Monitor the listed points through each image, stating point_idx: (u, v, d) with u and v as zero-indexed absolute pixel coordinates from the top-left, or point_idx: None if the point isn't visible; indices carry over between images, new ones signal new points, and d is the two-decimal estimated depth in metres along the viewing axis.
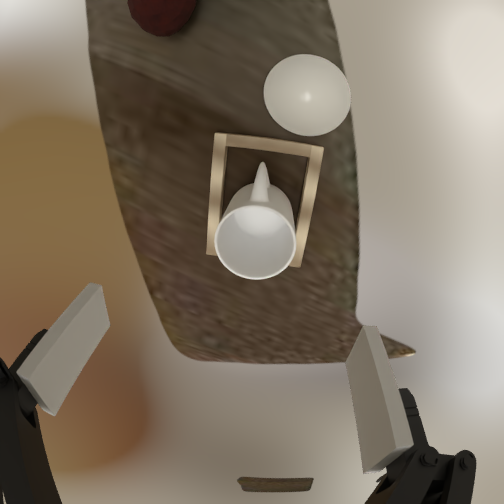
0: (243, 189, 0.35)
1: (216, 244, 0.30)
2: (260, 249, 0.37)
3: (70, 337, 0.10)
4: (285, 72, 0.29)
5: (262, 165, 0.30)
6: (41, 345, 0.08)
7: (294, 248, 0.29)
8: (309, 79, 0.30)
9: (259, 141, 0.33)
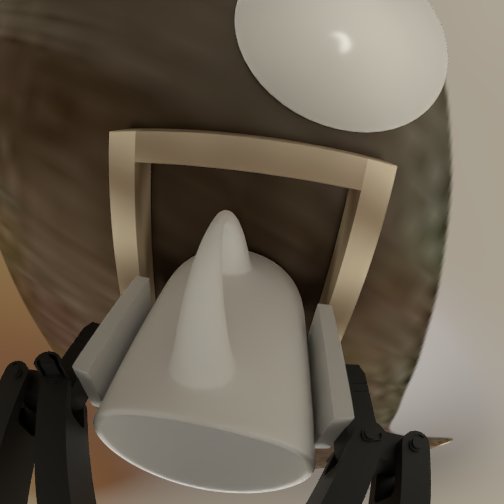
0: (182, 275, 0.14)
1: (108, 444, 0.09)
2: None
3: (123, 329, 0.11)
4: None
5: (214, 237, 0.08)
6: (96, 338, 0.10)
7: (307, 475, 0.08)
8: None
9: (220, 145, 0.12)
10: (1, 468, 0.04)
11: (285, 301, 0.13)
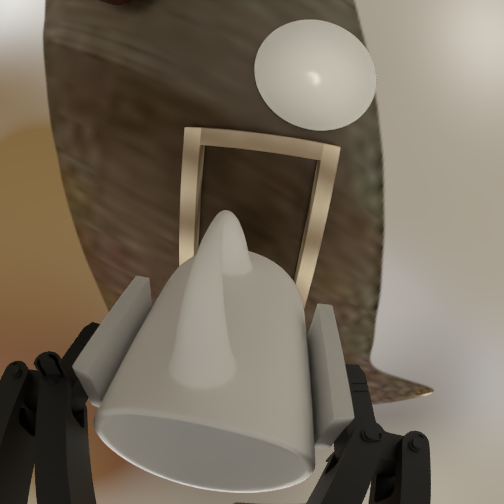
0: (182, 275, 0.14)
1: (108, 443, 0.09)
2: None
3: (123, 329, 0.11)
4: (284, 42, 0.19)
5: (214, 236, 0.08)
6: (96, 338, 0.10)
7: (307, 475, 0.08)
8: (318, 52, 0.20)
9: (248, 137, 0.23)
10: (1, 468, 0.04)
11: (285, 301, 0.13)
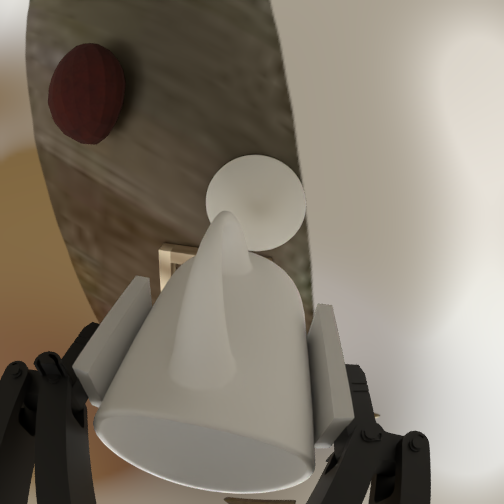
0: (182, 276, 0.14)
1: (108, 444, 0.09)
2: None
3: (123, 329, 0.11)
4: (228, 180, 0.30)
5: (214, 237, 0.08)
6: (96, 338, 0.10)
7: (307, 476, 0.08)
8: (256, 187, 0.30)
9: None
10: (1, 468, 0.04)
11: (285, 302, 0.13)
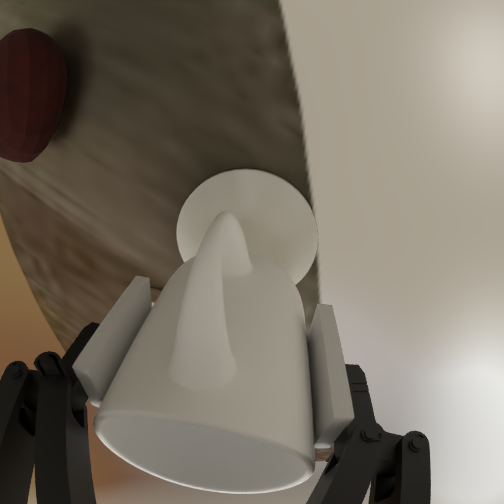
0: (182, 276, 0.14)
1: (108, 444, 0.09)
2: None
3: (123, 329, 0.11)
4: (206, 206, 0.21)
5: (214, 238, 0.08)
6: (96, 338, 0.10)
7: (307, 476, 0.08)
8: (246, 217, 0.21)
9: None
10: (1, 468, 0.04)
11: (285, 302, 0.13)
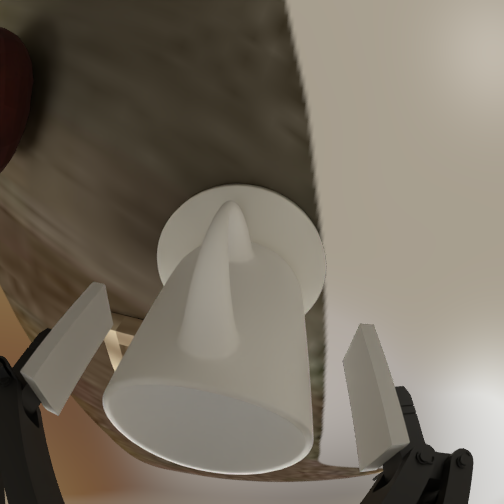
0: (189, 263, 0.15)
1: (114, 422, 0.10)
2: None
3: (73, 336, 0.10)
4: (190, 230, 0.17)
5: (221, 221, 0.09)
6: (45, 344, 0.09)
7: (306, 451, 0.09)
8: None
9: None
10: None
11: (285, 287, 0.14)
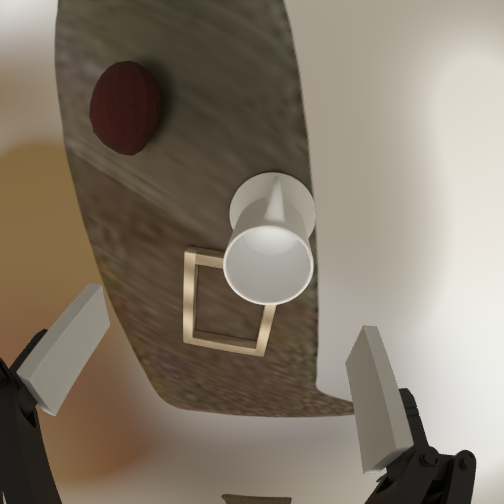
0: (254, 205, 0.32)
1: (225, 266, 0.27)
2: (269, 270, 0.35)
3: (70, 337, 0.10)
4: (250, 193, 0.35)
5: (278, 180, 0.27)
6: (41, 345, 0.08)
7: (310, 273, 0.27)
8: None
9: None
10: None
11: (297, 215, 0.32)
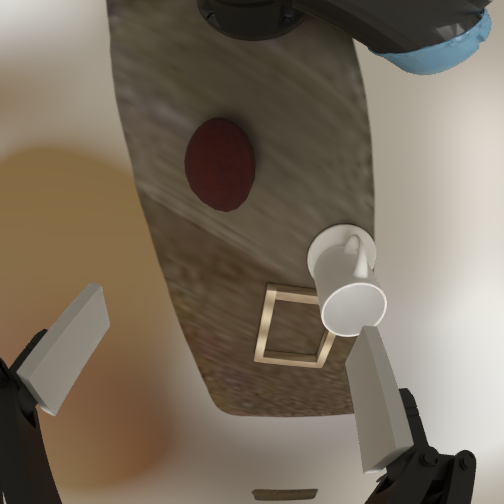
0: (334, 255, 0.38)
1: (323, 312, 0.33)
2: (341, 304, 0.41)
3: (70, 337, 0.10)
4: (326, 241, 0.41)
5: (362, 242, 0.33)
6: (41, 345, 0.08)
7: (383, 313, 0.33)
8: None
9: (301, 297, 0.44)
10: None
11: (367, 263, 0.38)
